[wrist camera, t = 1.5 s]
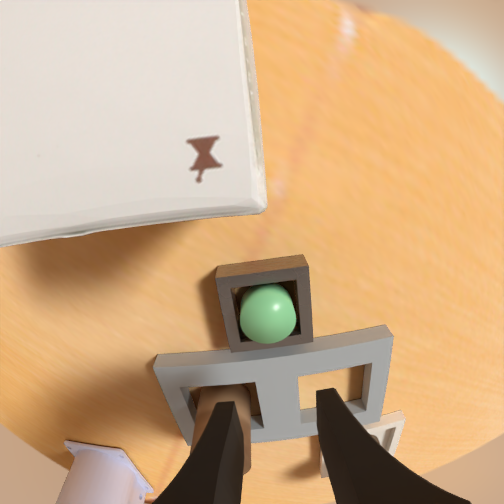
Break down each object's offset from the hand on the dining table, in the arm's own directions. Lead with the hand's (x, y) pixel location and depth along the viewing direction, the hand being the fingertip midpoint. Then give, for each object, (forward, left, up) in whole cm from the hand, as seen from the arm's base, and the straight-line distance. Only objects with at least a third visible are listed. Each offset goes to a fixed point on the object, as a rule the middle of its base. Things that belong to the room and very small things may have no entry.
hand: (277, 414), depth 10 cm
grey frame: (-8, 0, -9) cm, 12 cm away
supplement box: (+12, +3, -10) cm, 15 cm away
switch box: (0, 0, -9) cm, 9 cm away
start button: (0, 0, -9) cm, 9 cm away
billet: (-8, +4, -9) cm, 13 cm away
